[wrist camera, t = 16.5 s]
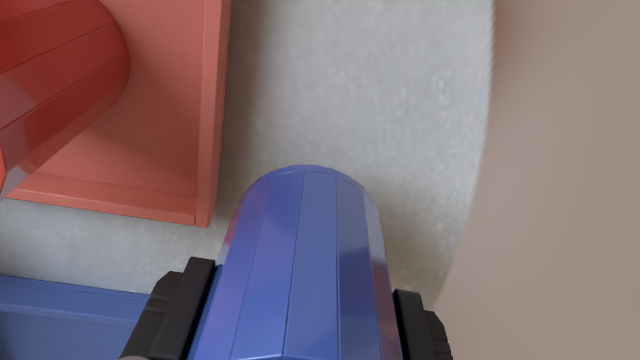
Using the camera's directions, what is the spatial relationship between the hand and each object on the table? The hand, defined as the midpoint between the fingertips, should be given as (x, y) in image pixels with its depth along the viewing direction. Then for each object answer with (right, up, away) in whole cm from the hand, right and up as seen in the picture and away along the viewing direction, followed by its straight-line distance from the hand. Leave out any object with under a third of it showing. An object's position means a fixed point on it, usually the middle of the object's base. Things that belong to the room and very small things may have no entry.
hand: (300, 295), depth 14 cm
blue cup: (0, +2, +3) cm, 4 cm away
